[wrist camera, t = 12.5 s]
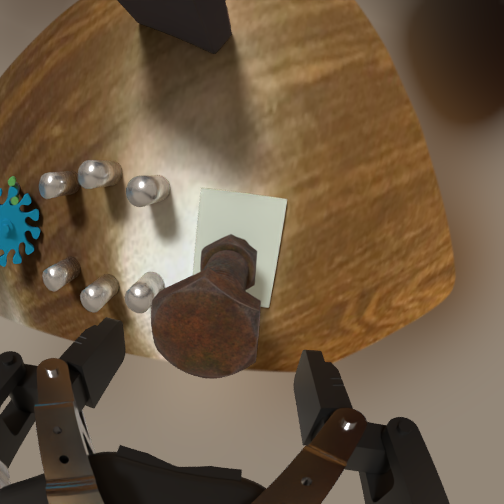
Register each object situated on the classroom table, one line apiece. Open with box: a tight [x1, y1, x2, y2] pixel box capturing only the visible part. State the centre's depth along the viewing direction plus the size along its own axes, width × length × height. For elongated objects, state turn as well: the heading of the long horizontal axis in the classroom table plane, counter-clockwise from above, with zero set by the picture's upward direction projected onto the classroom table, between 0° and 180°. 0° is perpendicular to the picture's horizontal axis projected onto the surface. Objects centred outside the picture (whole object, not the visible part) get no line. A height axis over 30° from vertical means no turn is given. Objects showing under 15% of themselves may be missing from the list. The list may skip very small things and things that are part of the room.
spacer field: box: [39, 160, 170, 313], centre depth 25 cm, size 14×15×4 cm
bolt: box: [151, 234, 261, 378], centre depth 19 cm, size 6×5×15 cm
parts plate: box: [193, 188, 287, 308], centre depth 27 cm, size 8×11×1 cm
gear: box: [0, 176, 41, 267], centre depth 24 cm, size 11×6×10 cm
